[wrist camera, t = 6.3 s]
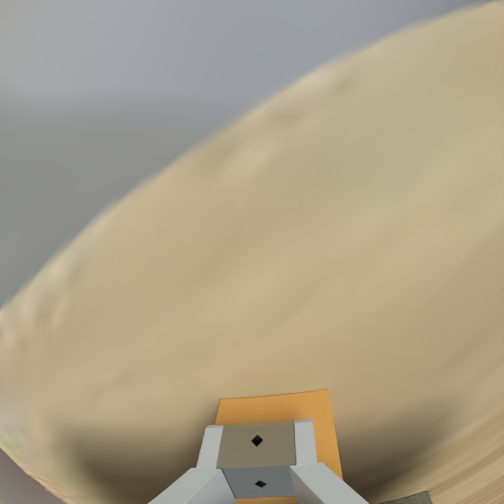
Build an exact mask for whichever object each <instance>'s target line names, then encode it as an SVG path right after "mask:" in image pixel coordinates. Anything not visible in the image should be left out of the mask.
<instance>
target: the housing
mask: <svg viewBox="0 0 504 504" xmlns="http://www.w3.org/2000/svg"><path fill="white" fill-rule="evenodd" d="M383 504H432V501H431V498H430V495H429V492H428V491H425V492H422V493H419V494H416V495H413V496H409V497H406V498H402V499H399V500H395V501H391V502H387V503H383Z"/></svg>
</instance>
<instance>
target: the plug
mask: <svg viewBox="0 0 504 504" xmlns="http://www.w3.org/2000/svg"><path fill="white" fill-rule="evenodd" d="M308 418H312V419H313V425H314V434H315V443H316V452H317V462H318V463H319V462H323V463H325V464H326V465H327V466H328V467H329V468H330V469H331V470H332V471H333V472H334V473H335V474H336V475H337V476H339V477H340V478H341V479H342V480H343V477H342V470H341V464H340V457H339V451H338V445H337V439H336V433H335V427H334V421H333V416H332V410H331V405H330V399H329V394H328V389H326V390H319V391H312V392H304V393H296V394H287V395H277V396H266V397H254V398H239V399H220V404H219V409H218V413H217V418H216V423H215V425H242V424H259V423H270V422H281V421H290V420H300V419H308ZM234 504H300V503H299V502H298V501H297V500H296V498H295V497H278V498H254V499H236V502H235V503H234Z"/></svg>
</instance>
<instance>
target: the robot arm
mask: <svg viewBox="0 0 504 504" xmlns="http://www.w3.org/2000/svg"><path fill="white" fill-rule="evenodd" d="M278 497H295V498H296V500H297V501H298V502H299V503H300V504H369V503H368V502H367V501H366V500H365V499H363V498H362V497H361V496H360V495H359V494H358V493H356V492H355V491H354V490H353V489H352V488H351V487H350V486H349V485H347V484H346V483H345V482H344V481H343V480H342V479H341V478H340V477H339V476H337V475H336V474H335V473H334V472H333V471H332V470H331V469H330V468H329V467H328V466H327V465H326V464H325V463H323V462H319V463H318V462H317V452H316V443H315V434H314V425H313V419H312V418H308V419H300V420H290V421H281V422H270V423H259V424H242V425H208V426H207V427H206V429H205V432H204V436H203V441H202V445H201V449H200V453H199V457H198V461H197V466H196V468H190V469H189V470H188V471H187V472H186V473H184V474H183V475H182V476H181V477H180V478H179V479H177V480H176V481H175V482H174V483H173V484H171V485H170V486H169V487H168V488H167V489H165V490H164V491H163V492H162V493H161V494H159V495H158V496H157V497H156V498H154V499H153V500H152V501H151V502H149V503H148V504H234V503H235V502H236V499H254V498H278ZM0 504H9V503H7V502H5V501H4V500H2V499H0Z"/></svg>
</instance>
